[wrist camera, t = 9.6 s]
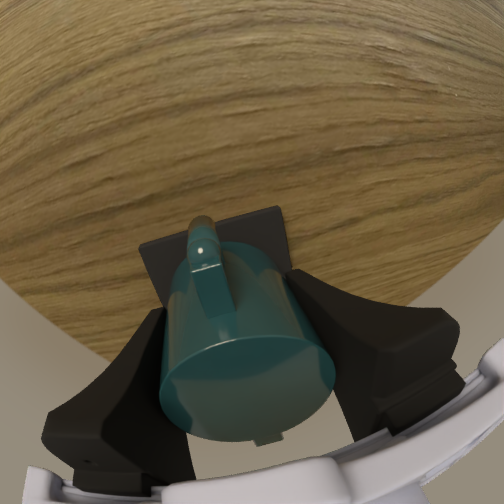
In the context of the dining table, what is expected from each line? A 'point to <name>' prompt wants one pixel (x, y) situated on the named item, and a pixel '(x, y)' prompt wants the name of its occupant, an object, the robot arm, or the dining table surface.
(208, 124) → the dining table surface
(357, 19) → the dining table surface
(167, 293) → the coaster
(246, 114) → the dining table surface
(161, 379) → the teal tabbed cylinder
